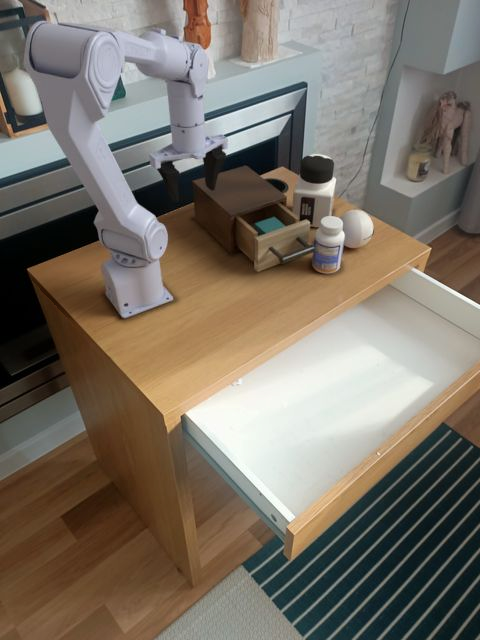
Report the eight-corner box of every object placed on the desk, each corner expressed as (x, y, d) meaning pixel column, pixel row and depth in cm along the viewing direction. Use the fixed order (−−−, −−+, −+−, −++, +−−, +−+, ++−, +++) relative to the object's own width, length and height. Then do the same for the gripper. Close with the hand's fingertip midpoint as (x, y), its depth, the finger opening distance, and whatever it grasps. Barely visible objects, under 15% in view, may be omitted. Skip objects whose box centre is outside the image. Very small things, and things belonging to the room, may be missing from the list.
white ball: (355, 260, 106) (361, 227, 101) (325, 244, 110) (329, 211, 105) (386, 240, 111) (393, 207, 106) (356, 225, 115) (362, 193, 110)
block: (267, 255, 104) (267, 235, 100) (254, 243, 106) (254, 223, 103) (286, 248, 105) (288, 227, 102) (273, 236, 108) (274, 216, 105)
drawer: (322, 265, 104) (326, 234, 99) (272, 285, 99) (273, 254, 94) (268, 220, 114) (269, 190, 109) (220, 236, 110) (219, 205, 105)
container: (328, 229, 114) (335, 170, 104) (291, 224, 115) (295, 165, 105) (332, 210, 119) (339, 152, 110) (296, 205, 120) (301, 147, 111)
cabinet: (284, 234, 112) (286, 196, 106) (231, 253, 107) (230, 214, 101) (246, 202, 120) (246, 165, 114) (195, 218, 115) (192, 180, 109)
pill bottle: (321, 254, 108) (326, 209, 101) (345, 264, 105) (352, 219, 99) (306, 267, 104) (310, 222, 98) (330, 278, 102) (337, 233, 95)
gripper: (160, 139, 87) (168, 215, 97) (236, 119, 93) (237, 192, 103) (139, 123, 91) (149, 197, 101) (214, 105, 97) (217, 176, 107)
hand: (192, 193), depth 102 cm, fingers open, 7 cm apart
